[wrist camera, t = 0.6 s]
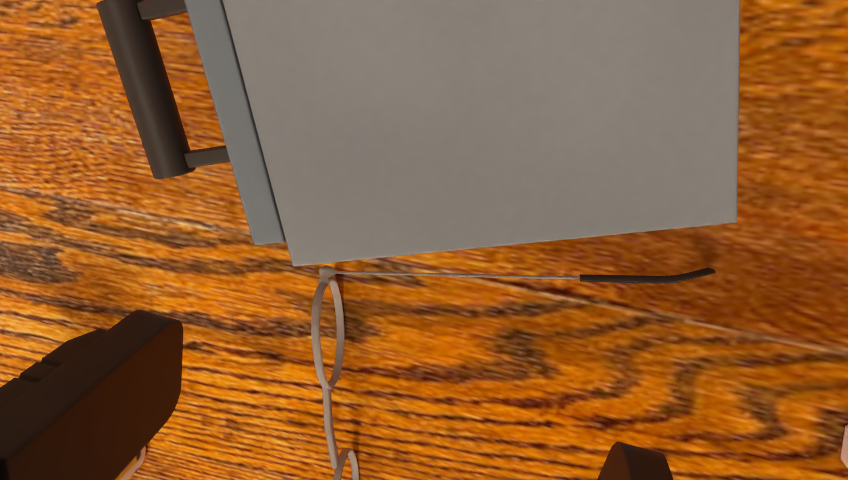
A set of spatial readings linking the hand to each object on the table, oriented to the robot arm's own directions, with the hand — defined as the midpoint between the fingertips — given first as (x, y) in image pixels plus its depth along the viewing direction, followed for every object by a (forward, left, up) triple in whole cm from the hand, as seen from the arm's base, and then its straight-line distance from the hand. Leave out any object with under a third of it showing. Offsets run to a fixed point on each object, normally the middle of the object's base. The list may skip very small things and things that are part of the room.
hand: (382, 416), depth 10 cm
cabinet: (-5, +5, -18) cm, 19 cm away
